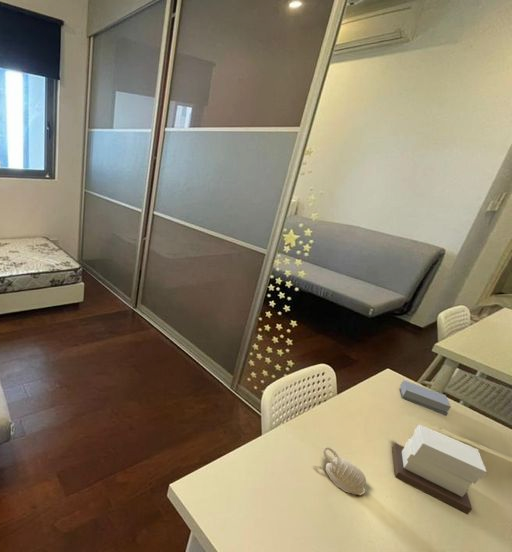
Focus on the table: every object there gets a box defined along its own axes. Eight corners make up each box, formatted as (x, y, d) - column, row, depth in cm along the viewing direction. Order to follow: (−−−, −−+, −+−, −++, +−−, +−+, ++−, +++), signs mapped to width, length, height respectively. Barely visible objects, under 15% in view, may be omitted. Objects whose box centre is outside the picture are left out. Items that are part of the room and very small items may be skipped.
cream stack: (457, 478, 67) (477, 453, 64) (467, 514, 60) (491, 489, 57) (391, 447, 73) (407, 423, 70) (395, 476, 66) (412, 452, 63)
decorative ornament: (358, 502, 60) (370, 484, 58) (312, 467, 66) (322, 449, 64) (365, 490, 62) (377, 473, 60) (320, 457, 68) (330, 440, 66)
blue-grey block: (440, 407, 86) (448, 396, 85) (444, 419, 82) (452, 408, 81) (396, 389, 91) (403, 379, 89) (398, 400, 87) (405, 389, 85)
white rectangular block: (472, 456, 63) (477, 449, 62) (480, 479, 59) (487, 472, 58) (414, 430, 68) (418, 424, 67) (417, 450, 63) (422, 443, 63)
